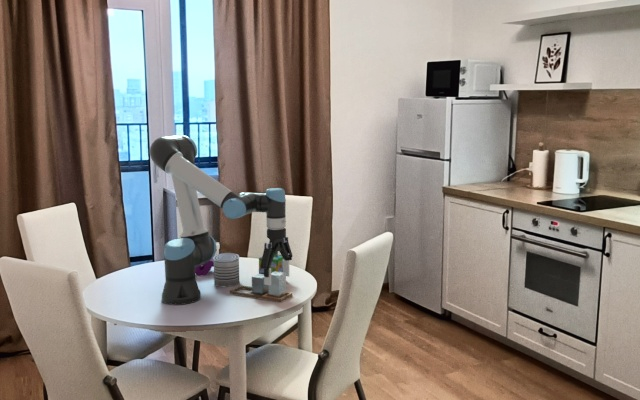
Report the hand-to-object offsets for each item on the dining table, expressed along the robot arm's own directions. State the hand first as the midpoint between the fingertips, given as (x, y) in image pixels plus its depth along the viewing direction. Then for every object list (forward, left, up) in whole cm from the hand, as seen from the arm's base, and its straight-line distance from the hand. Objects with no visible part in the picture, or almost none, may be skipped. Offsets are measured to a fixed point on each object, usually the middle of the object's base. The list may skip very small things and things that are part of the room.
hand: (277, 280), depth 244 cm
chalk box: (+18, +14, -8) cm, 23 cm away
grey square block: (0, 0, -7) cm, 7 cm away
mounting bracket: (+19, +46, -8) cm, 51 cm away
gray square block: (0, +8, -7) cm, 11 cm away
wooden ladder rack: (0, +8, -7) cm, 11 cm away
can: (+8, +30, -8) cm, 32 cm away
